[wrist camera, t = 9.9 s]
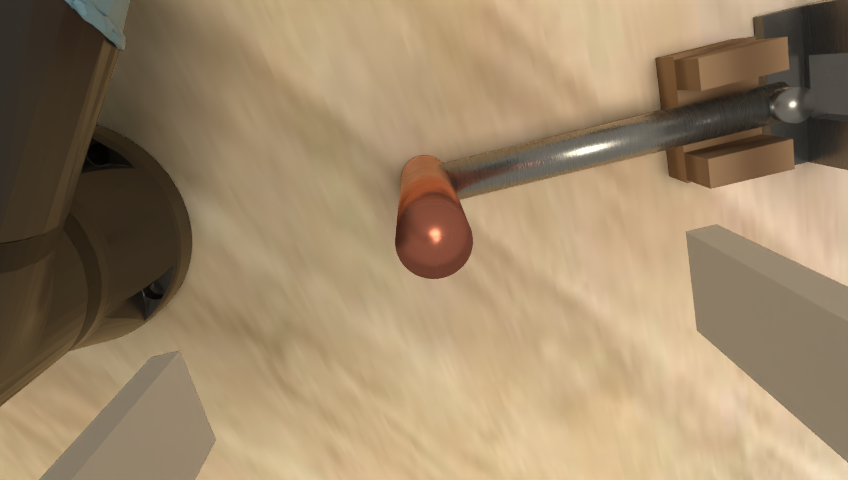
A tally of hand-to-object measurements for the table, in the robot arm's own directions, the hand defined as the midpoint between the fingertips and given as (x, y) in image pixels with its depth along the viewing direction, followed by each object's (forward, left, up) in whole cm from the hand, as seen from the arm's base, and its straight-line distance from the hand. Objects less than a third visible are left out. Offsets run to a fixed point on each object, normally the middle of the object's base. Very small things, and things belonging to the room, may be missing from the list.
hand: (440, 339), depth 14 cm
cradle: (+19, 0, -25) cm, 32 cm away
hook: (+11, 0, -24) cm, 26 cm away
